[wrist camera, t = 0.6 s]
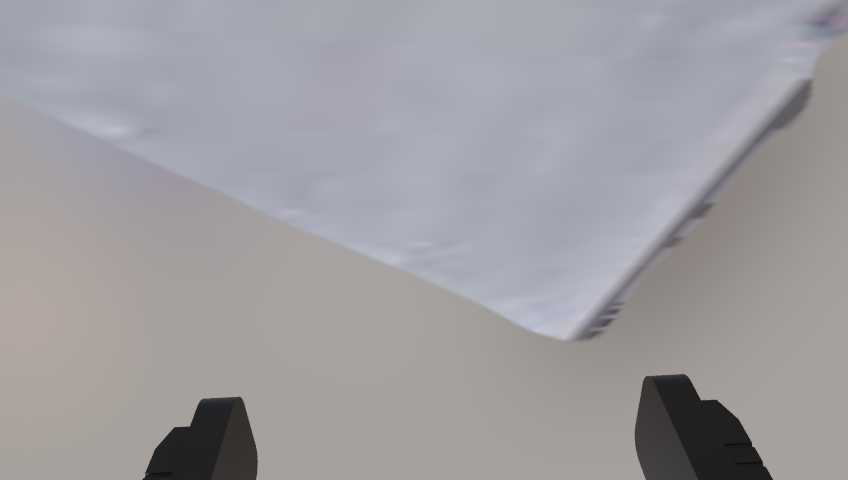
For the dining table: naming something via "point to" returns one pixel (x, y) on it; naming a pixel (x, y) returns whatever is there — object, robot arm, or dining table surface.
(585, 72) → the dining table surface
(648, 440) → the robot arm
